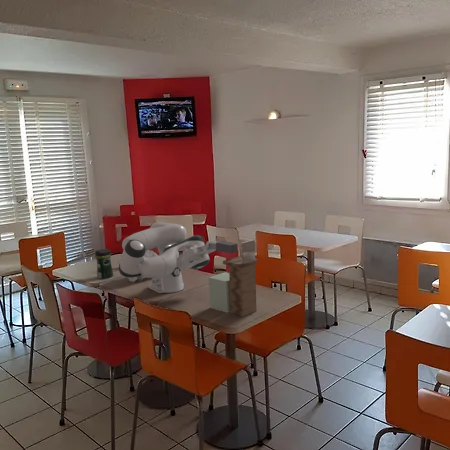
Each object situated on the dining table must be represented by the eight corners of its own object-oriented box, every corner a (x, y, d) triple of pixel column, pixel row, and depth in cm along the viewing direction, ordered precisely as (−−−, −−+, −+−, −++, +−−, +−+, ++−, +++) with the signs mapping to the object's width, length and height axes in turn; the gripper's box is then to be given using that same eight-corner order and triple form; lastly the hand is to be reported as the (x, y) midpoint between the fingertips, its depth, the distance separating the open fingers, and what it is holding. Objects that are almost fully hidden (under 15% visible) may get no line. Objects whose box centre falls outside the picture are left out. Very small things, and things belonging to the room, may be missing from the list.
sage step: (210, 307, 235) (208, 277, 232) (226, 301, 243) (225, 272, 241) (227, 312, 227) (225, 281, 224) (243, 306, 235) (242, 275, 232)
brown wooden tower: (225, 312, 228) (222, 240, 221) (241, 305, 236) (238, 236, 230) (243, 317, 219) (240, 243, 213) (259, 310, 228) (257, 239, 222)
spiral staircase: (162, 281, 299) (129, 289, 281) (146, 266, 309) (114, 272, 291) (169, 258, 291) (136, 264, 273) (153, 243, 301) (120, 248, 283)
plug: (204, 248, 236) (204, 240, 236) (211, 246, 240) (211, 238, 239) (230, 253, 224) (230, 245, 223) (237, 251, 228) (237, 243, 227)
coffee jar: (108, 274, 305) (106, 247, 302) (114, 276, 300) (112, 248, 296) (95, 277, 299) (92, 249, 296) (101, 280, 293) (98, 251, 290)
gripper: (212, 255, 252) (228, 246, 243) (184, 263, 238) (200, 253, 228) (208, 245, 253) (223, 235, 244) (180, 252, 239) (195, 241, 229)
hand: (211, 244), depth 236 cm, fingers closed on plug, 3 cm apart
